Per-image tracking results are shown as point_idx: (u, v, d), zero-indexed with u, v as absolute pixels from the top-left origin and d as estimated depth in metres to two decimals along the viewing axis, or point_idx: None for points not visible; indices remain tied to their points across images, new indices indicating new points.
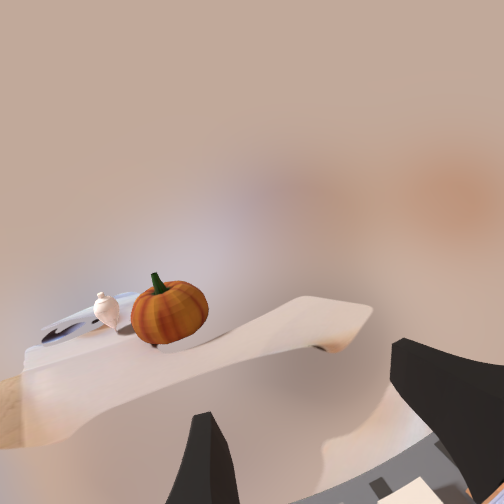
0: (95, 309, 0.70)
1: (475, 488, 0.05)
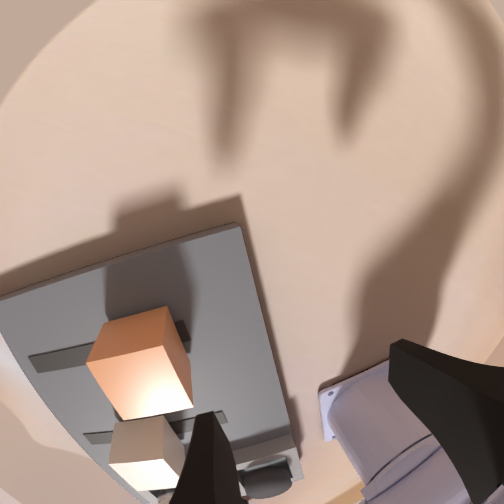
0: None
1: (473, 490, 0.05)
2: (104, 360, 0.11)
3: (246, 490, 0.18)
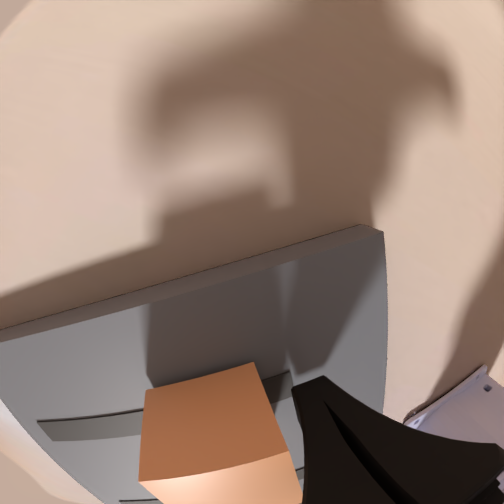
0: None
1: None
2: (174, 479, 0.05)
3: None
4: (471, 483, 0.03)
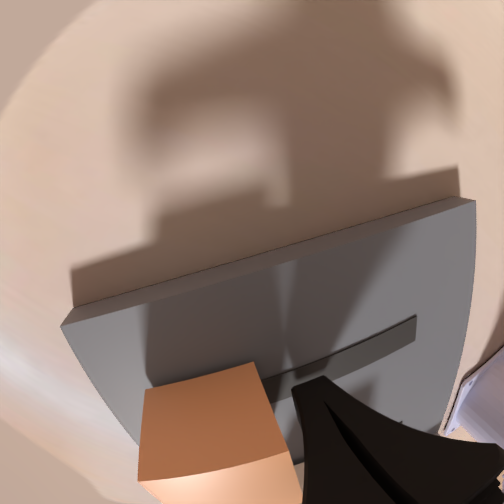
0: None
1: None
2: (173, 480, 0.05)
3: None
4: (471, 483, 0.03)
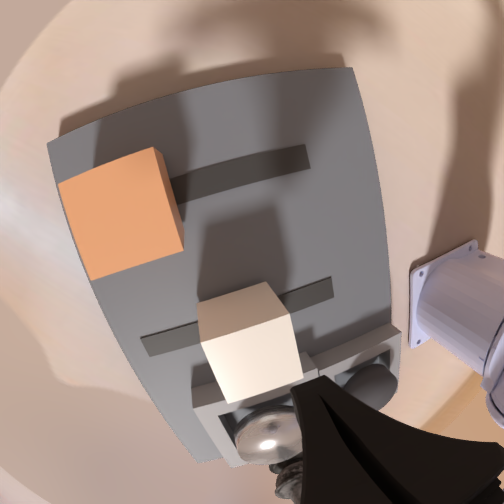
0: None
1: None
2: (79, 177, 0.09)
3: None
4: (472, 482, 0.03)
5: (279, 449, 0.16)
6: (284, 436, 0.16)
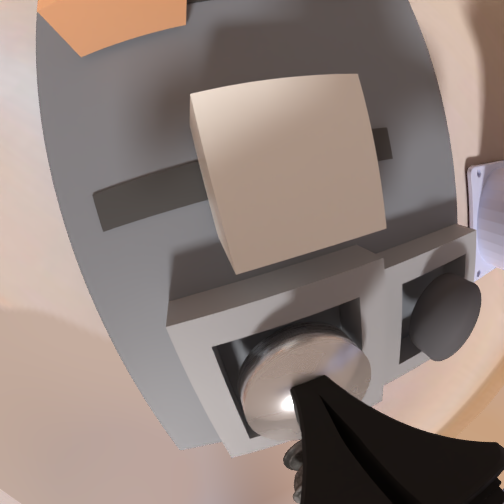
0: None
1: None
2: None
3: (431, 324, 0.10)
4: (472, 482, 0.03)
5: None
6: None
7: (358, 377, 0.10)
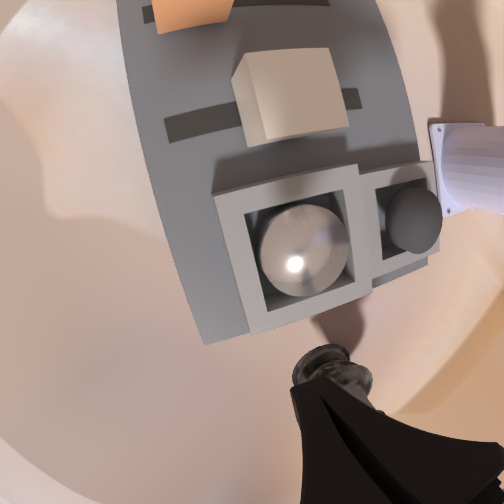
0: None
1: None
2: None
3: (399, 215, 0.15)
4: (472, 482, 0.03)
5: (311, 264, 0.16)
6: (317, 237, 0.15)
7: (339, 241, 0.16)
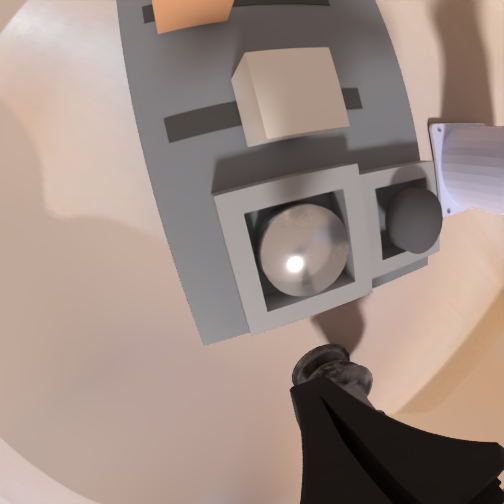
0: None
1: None
2: None
3: (399, 215, 0.15)
4: (472, 482, 0.03)
5: (311, 263, 0.16)
6: (317, 237, 0.15)
7: (339, 240, 0.16)
